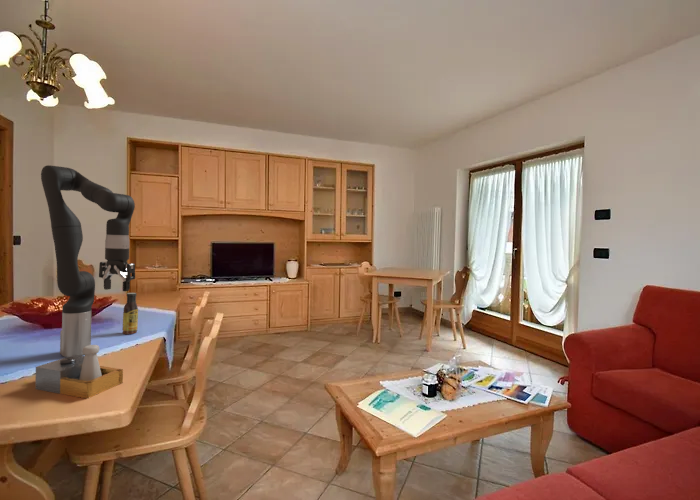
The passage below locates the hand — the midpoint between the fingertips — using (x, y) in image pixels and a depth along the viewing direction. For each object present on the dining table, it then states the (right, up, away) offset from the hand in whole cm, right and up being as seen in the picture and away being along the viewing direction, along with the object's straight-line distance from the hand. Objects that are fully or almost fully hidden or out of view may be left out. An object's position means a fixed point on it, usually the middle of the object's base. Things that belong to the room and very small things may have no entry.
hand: (116, 290), depth 128 cm
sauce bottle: (-21, -26, +41) cm, 53 cm away
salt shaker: (+5, -29, -19) cm, 35 cm away
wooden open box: (-1, -29, -18) cm, 34 cm away
